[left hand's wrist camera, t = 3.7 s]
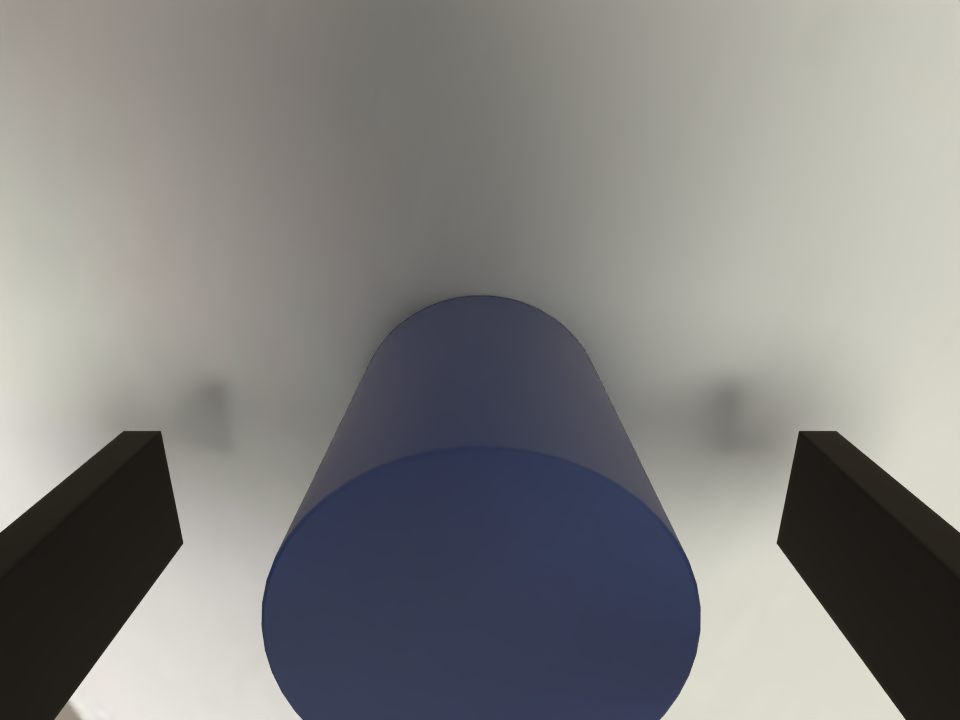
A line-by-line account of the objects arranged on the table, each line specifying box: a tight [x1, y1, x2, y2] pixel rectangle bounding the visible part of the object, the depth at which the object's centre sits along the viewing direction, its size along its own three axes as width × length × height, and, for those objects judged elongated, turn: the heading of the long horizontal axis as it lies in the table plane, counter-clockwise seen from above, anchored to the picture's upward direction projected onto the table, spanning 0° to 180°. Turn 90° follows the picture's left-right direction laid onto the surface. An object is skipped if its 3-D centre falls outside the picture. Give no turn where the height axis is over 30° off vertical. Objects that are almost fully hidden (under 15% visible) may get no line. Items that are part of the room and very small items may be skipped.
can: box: [262, 296, 701, 720], centre depth 12 cm, size 6×6×8 cm
